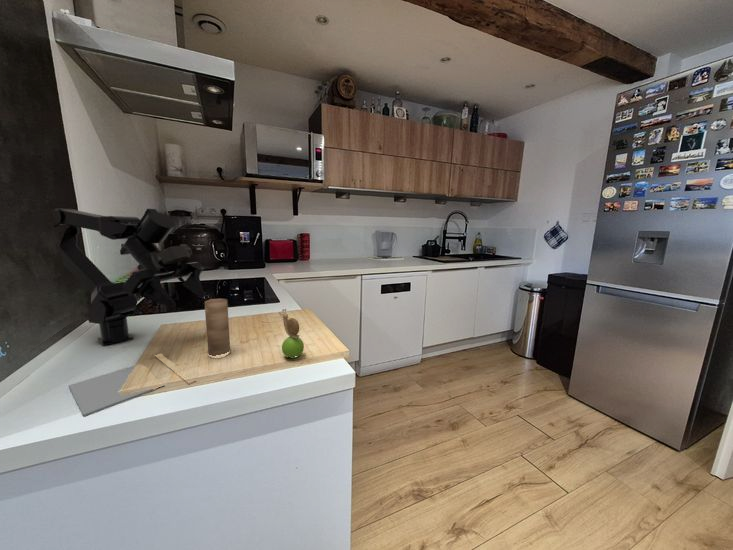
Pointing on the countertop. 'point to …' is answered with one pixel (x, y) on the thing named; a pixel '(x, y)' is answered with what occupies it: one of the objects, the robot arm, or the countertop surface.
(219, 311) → the smooth brown cylinder
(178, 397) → the countertop surface
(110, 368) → the countertop surface
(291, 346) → the snail figurine
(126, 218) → the robot arm
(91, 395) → the mat
